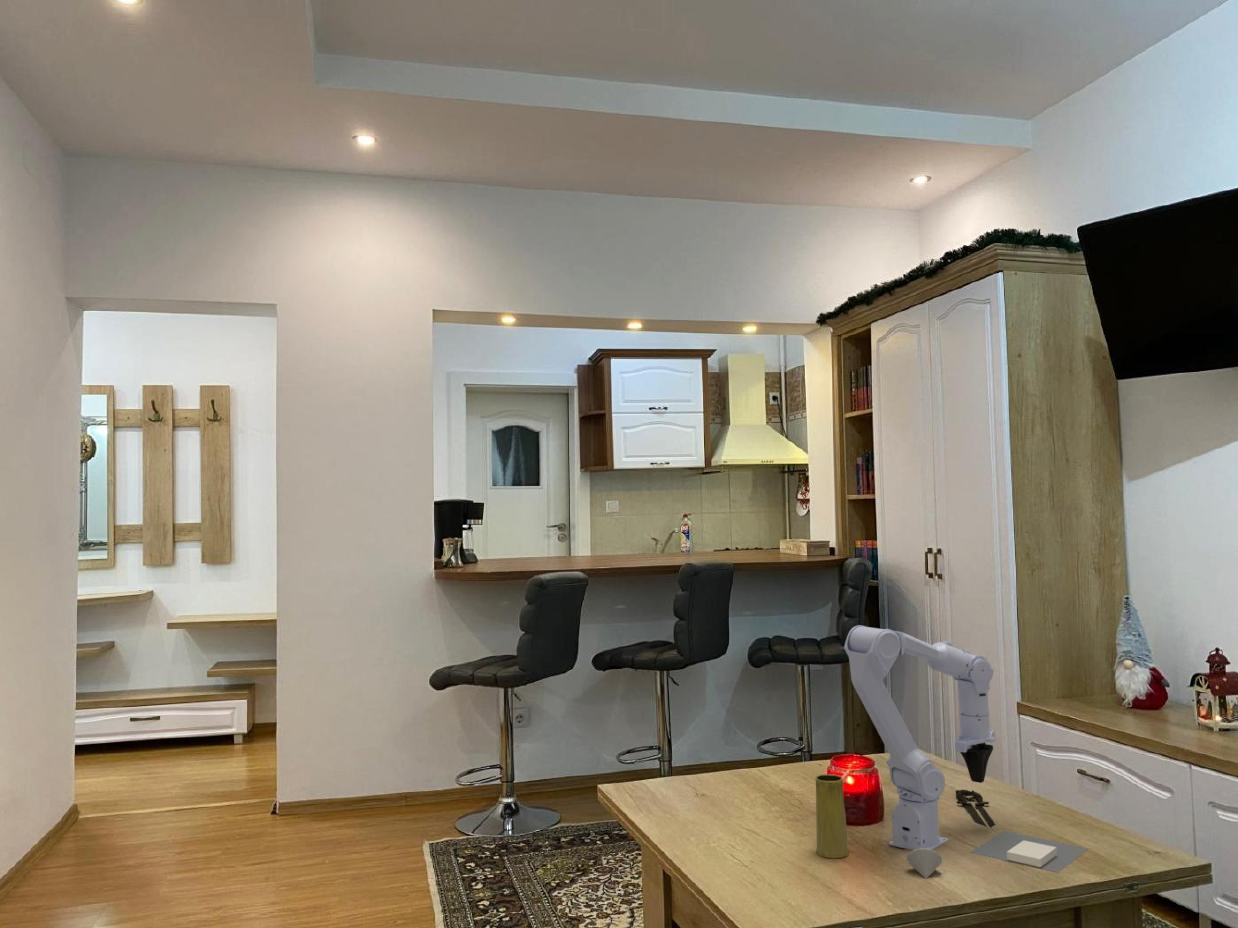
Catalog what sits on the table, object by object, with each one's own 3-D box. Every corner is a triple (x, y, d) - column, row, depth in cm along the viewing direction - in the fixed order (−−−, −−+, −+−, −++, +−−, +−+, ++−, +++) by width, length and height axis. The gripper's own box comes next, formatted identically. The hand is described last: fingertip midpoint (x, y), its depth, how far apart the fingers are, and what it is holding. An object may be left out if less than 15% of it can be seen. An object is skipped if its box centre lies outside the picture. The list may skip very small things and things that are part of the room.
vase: (825, 860, 172) (822, 783, 173) (810, 849, 178) (807, 775, 179) (854, 856, 174) (851, 779, 175) (838, 846, 180) (835, 771, 181)
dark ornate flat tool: (999, 833, 186) (998, 826, 186) (964, 831, 188) (964, 824, 188) (983, 796, 211) (983, 789, 211) (953, 794, 213) (952, 788, 213)
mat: (1058, 874, 162) (1058, 872, 162) (969, 854, 173) (969, 851, 173) (1088, 850, 173) (1088, 848, 173) (1004, 832, 185) (1004, 830, 185)
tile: (1057, 856, 170) (1040, 868, 164) (1024, 848, 174) (1007, 860, 168) (1056, 847, 170) (1040, 859, 164) (1023, 840, 174) (1006, 851, 169)
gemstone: (912, 866, 161) (909, 840, 165) (905, 885, 164) (902, 859, 168) (948, 872, 160) (944, 846, 164) (940, 890, 164) (937, 865, 168)
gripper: (978, 722, 180) (982, 792, 179) (1007, 710, 190) (1011, 776, 189) (943, 717, 185) (947, 786, 184) (974, 706, 195) (978, 771, 194)
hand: (977, 781), depth 187 cm, fingers closed
